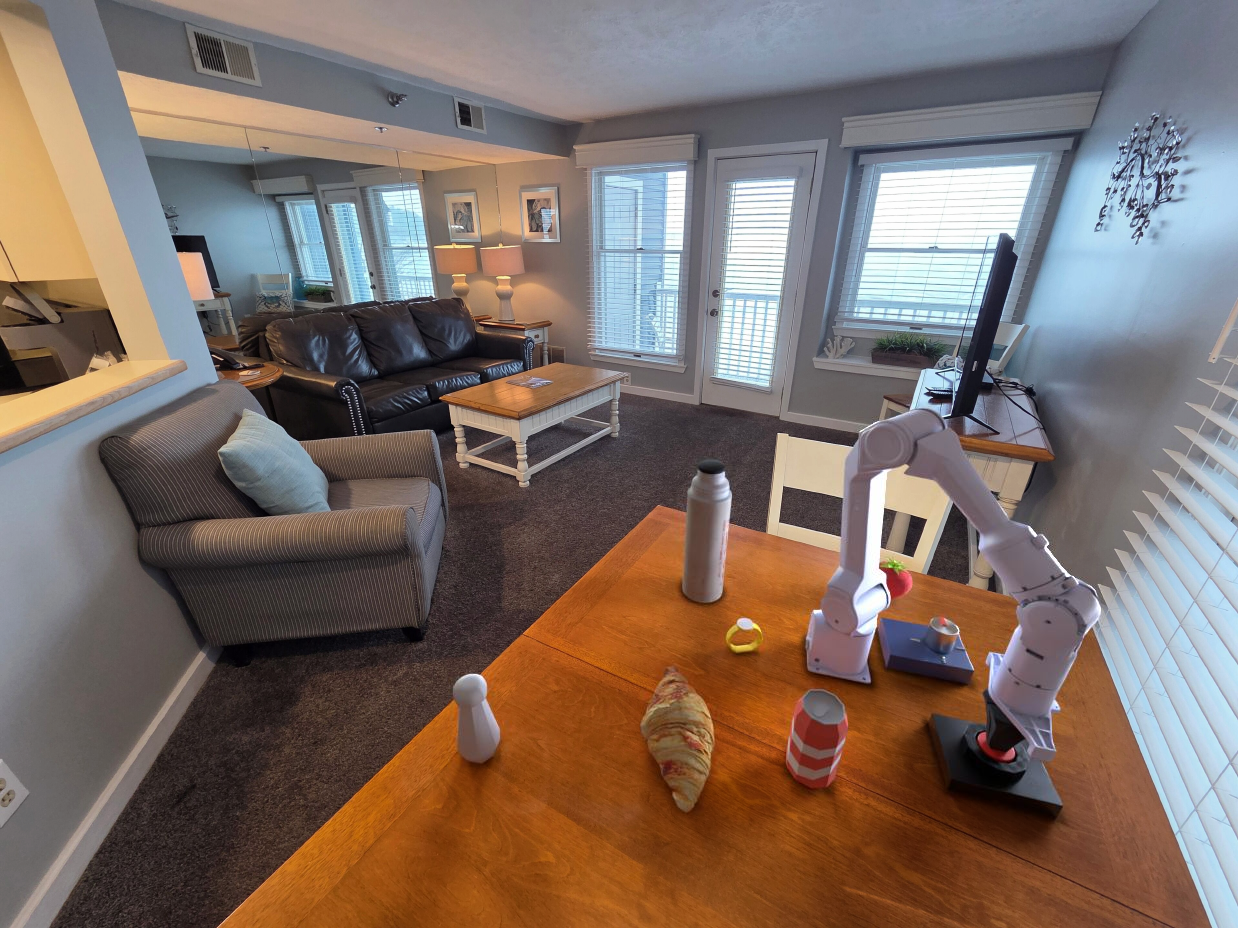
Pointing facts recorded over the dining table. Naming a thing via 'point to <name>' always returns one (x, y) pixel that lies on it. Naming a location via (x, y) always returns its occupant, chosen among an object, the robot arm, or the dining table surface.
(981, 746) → the button
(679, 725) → the croissant
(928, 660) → the dial panel
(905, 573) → the strawberry
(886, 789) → the dining table surface
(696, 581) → the thermos bottle
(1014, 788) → the button box
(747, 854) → the dining table surface
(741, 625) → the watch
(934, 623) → the dial knob
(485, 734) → the salt shaker
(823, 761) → the beverage can
